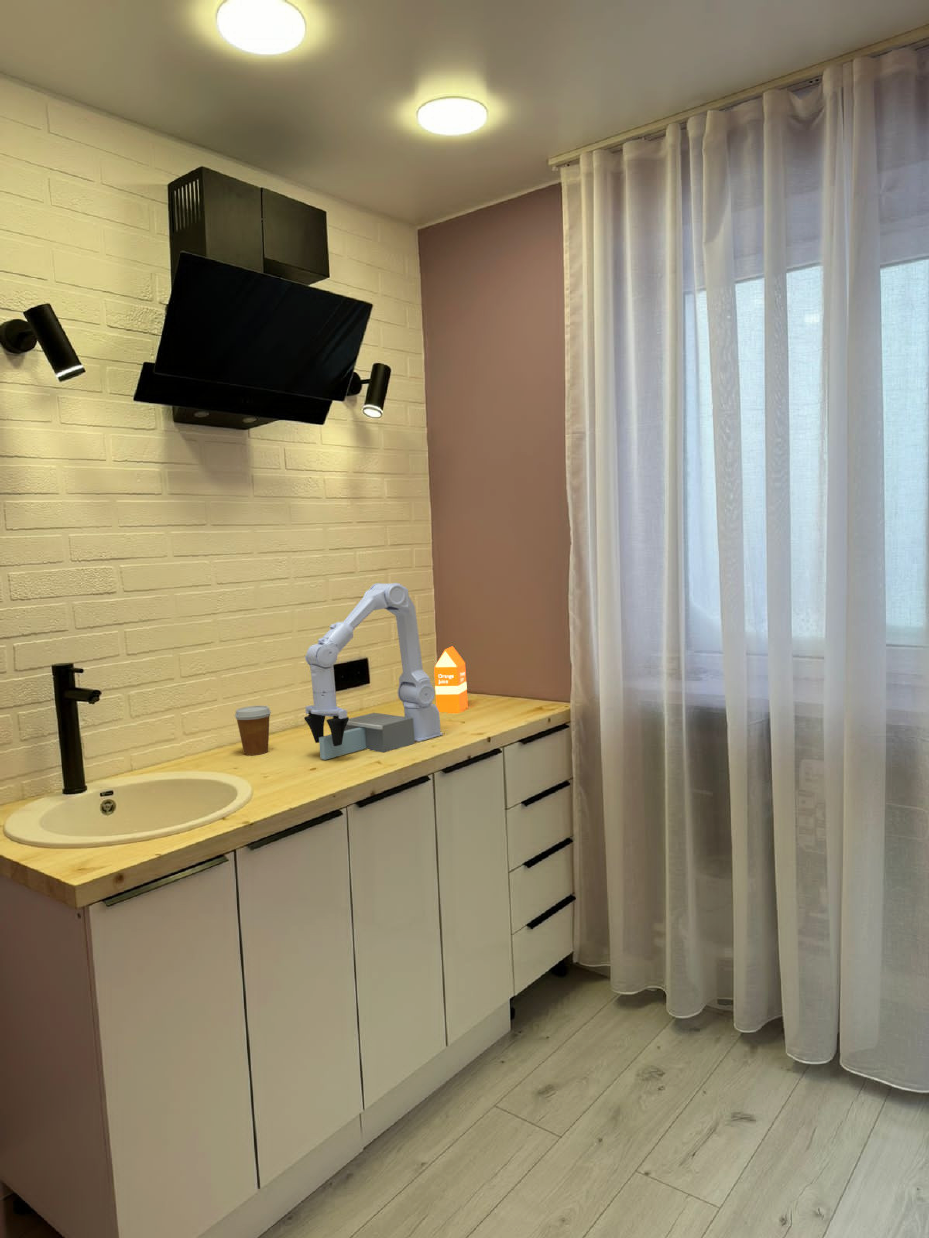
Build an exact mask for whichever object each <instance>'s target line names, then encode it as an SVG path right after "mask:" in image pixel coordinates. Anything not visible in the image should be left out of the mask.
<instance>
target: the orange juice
mask: <svg viewBox="0 0 929 1238" xmlns="http://www.w3.org/2000/svg"><path fill="white" fill-rule="evenodd" d="M433 670H434V671H433V673H434V683H435V685H434V691H435V701H436V702H435V703H436V706H437V708H438V710H439V712H447V713H446V714H461V713H462V712H464V711H465V710H466V708H467V709H468V708H469V705H468V691H467V690H468V687H467V685H468V683H467V675H466V674H467V673H466V662H465V660H463V658H462V657H461V655H460V654H459V653H458V651H457V650H456V649H455V647H454V646H452V645H451V646H450V647H448V648H445V649H444V650H443V652H442V654H441V656H440V657H439V658H438V660H437V663H435V666H434V668H433ZM460 712H461V713H460Z"/></svg>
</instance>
